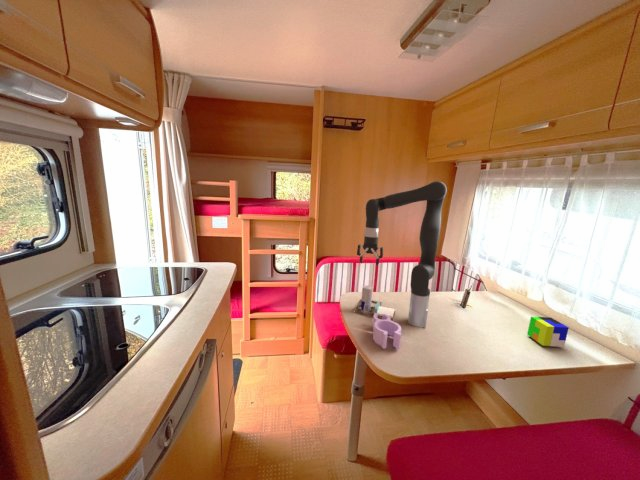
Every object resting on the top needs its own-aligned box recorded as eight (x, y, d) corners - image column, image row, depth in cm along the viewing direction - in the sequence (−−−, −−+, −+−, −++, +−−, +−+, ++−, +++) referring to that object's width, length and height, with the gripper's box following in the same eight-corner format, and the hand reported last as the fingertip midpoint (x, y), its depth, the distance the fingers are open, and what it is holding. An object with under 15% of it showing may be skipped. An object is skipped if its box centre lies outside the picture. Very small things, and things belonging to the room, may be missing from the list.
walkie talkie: (474, 312, 159) (479, 283, 156) (450, 307, 163) (455, 280, 160) (470, 303, 171) (475, 277, 168) (448, 300, 176) (452, 274, 172)
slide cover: (394, 310, 152) (395, 305, 151) (392, 318, 143) (393, 312, 142) (376, 307, 155) (377, 301, 155) (374, 314, 146) (374, 308, 145)
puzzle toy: (564, 346, 126) (568, 327, 124) (542, 345, 126) (547, 326, 124) (546, 335, 135) (550, 317, 134) (527, 334, 136) (530, 316, 134)
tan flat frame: (396, 307, 160) (396, 305, 160) (393, 321, 143) (393, 318, 142) (361, 300, 168) (361, 298, 167) (354, 312, 150) (354, 310, 150)
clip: (366, 325, 137) (367, 313, 135) (390, 326, 138) (391, 313, 136) (377, 348, 117) (379, 334, 116) (404, 348, 118) (406, 334, 117)
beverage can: (371, 310, 155) (373, 285, 152) (369, 314, 150) (372, 289, 147) (361, 308, 156) (363, 284, 154) (360, 312, 151) (362, 287, 148)
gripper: (385, 235, 146) (382, 264, 149) (360, 233, 151) (358, 260, 154) (383, 237, 139) (380, 267, 142) (357, 235, 144) (355, 263, 147)
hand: (369, 263), depth 148 cm, fingers open, 8 cm apart
